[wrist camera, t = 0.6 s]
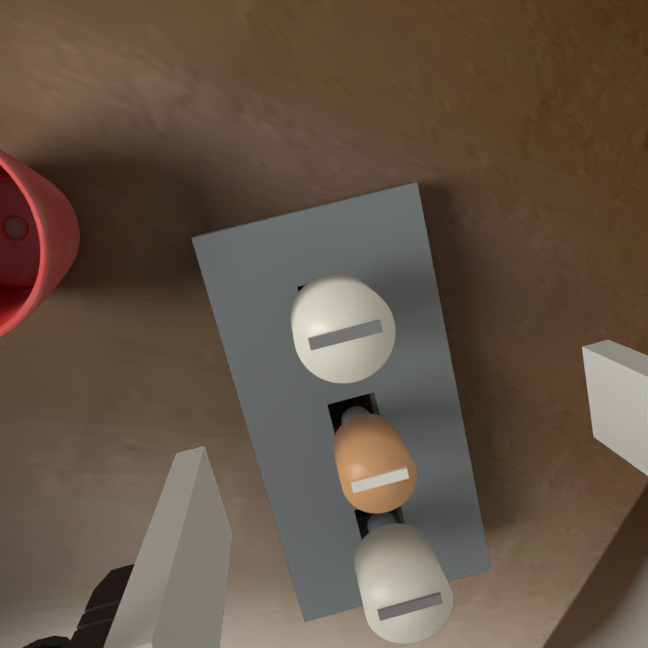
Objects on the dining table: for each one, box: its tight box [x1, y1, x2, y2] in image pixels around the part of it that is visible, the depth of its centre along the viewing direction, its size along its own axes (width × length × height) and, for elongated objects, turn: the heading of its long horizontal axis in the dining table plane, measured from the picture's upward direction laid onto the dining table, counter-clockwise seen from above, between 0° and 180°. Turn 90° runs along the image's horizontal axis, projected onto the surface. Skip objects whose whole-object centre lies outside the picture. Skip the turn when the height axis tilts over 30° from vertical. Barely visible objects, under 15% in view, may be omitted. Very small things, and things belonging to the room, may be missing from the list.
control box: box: [191, 182, 491, 622], centre depth 38 cm, size 14×28×4 cm, turn 13°
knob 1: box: [291, 273, 396, 383], centre depth 30 cm, size 5×5×8 cm
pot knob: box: [333, 406, 417, 513], centre depth 32 cm, size 4×4×8 cm
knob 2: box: [354, 512, 453, 643], centre depth 34 cm, size 5×5×8 cm
